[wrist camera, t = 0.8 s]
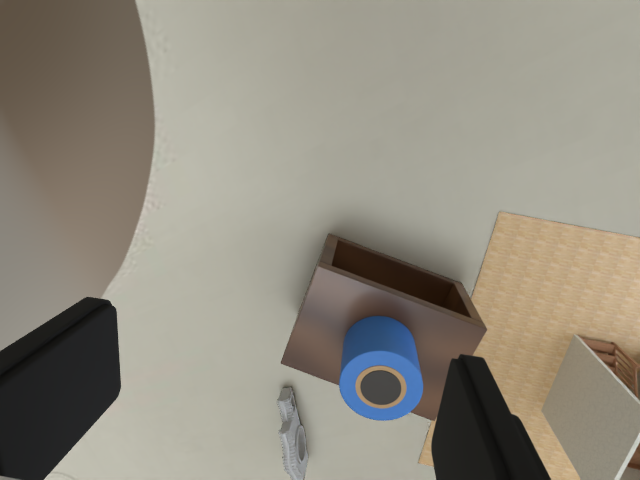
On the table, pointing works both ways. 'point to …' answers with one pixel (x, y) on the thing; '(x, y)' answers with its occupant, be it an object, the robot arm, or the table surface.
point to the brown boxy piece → (382, 300)
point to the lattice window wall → (292, 436)
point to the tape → (380, 369)
